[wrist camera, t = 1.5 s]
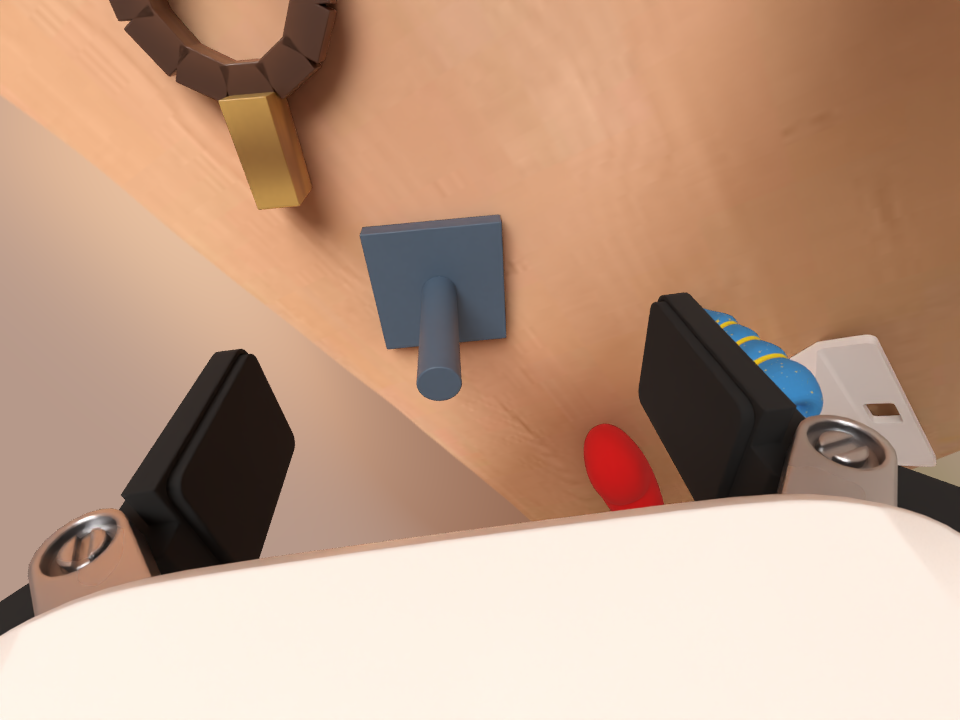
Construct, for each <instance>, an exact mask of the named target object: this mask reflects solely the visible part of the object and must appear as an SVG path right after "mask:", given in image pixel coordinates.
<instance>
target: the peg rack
mask: <svg viewBox="0 0 960 720" xmlns="http://www.w3.org/2000/svg"><path fill="white" fill-rule="evenodd" d="M360 239H361V243H362V247H363V252H364V256H365V260H366V264H367V268H368V272H369V277H370V281H371V285H372V289H373V293H374V297H375V301H376V306H377V310H378V314H379V318H380V322H381V326H382V331H383V335H384V339H385V343H386V347H387V349H396V348H406V347H417V346H419V353H418V369H417V388H418V390H419V392H420V393H421V394H422V395H423V396H424V397H426V398H428V399H431V400H435V401H443V400H448V399H450V398H452V397H454V396H455V395H456V394H457V393H458V392H459V391H460V389H461V385H462V379H461V362H460V345H459V342H469V341H479V340H489V339H500V338H506V317H505V293H504V268H503V244H502V222H501V219H500V215H490V216H479V217H468V218H457V219H447V220H436V221H425V222H414V223H404V224H393V225H382V226H371V227H363V228H362V230H361V233H360Z"/></svg>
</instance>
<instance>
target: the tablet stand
mask: <svg viewBox="0 0 960 720" xmlns="http://www.w3.org/2000/svg"><path fill="white" fill-rule="evenodd" d="M790 360H793V361H796V362H798V363H800V364H802V365H803V366H805V367H806V368H807V369H808V370H810V371H811V372H812V374H813V375H814V377H815V378H816V380H817V382H818V384H819V386H820V388H821V391H822V395H823V408H822V411H821V413H820V415H836V416H841V417H846V418H849V419H852V420H855V421H858V422H860V423H863V424H865V425H867V426H869V427H870V428H872V429H874V430H876V431H877V432H878V433H880V434H881V435H882V436H883V437H885V438H886V439H887V440H888V441H889V442H890V444H891V445H892V446H893V448H894V449H895V451H896V455H897V458H898V465H899V466H924V467H925V466H927V467H931V466H935V465H936V456H935V454H934V452H933V450H932V448H931V446H930V444H929V441H928V439H927V437H926V435H925V433H924V431H923V429H922V427H921V425H920V423H919V421H918V419H917V417H916V415H915V413H914V411H913V409H912V407H911V405H910V403H909V401H908V399H907V397H906V395H905V393H904V391H903V389H902V387H901V385H900V383H899V381H898V379H897V377H896V375H895V373H894V371H893V369H892V367H891V365H890V363H889V361H888V359H887V357H886V355H885V353H884V351H883V349H882V347H881V345H880V343H879V341H878V339H877V337H875V336H873V335H859V336H853V337H846V338H840V339H833V340H826V341H820V342H816V343H815V344H813V345H811V346H810V347H808V348H806V349H805V350H803V351H801V352H800V353H798V354H796V355H795V356H793V357H791V358H790ZM877 403H893V404H895V406H896V408H897V410H898V412H899V413H900V415H892V416H873V415H872V414H871V412H870V410H869V409H868V407H867V405H866V404H877Z"/></svg>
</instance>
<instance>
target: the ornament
mask: <svg viewBox="0 0 960 720" xmlns="http://www.w3.org/2000/svg"><path fill="white" fill-rule="evenodd" d="M704 310H705V311H706V312H707V313H708V314H709V315H710V316H711V317H712V318H713V319H714V320H715V321H716V322H717V324H718V325H719V326H720V327H721V328H722V329H723V330H724V331H725V332H726V333H727V334H728V335H729V336H730V337H731V338H732V339H733V340H734V341H735V342H736V343H737V344H738V345H739V346H740V348H741V349H742V350H743V351H744V352H745V353H746V354H747V355H748V356H749V357H750V358H751V359H752V360H753V361H754V362H755V363H756V364H757V365H758V366H759V367H760V368H761V369H762V370H763V372H764V373H765V374H766V375H767V376H768V377H769V378H770V379H771V380H772V381H773V382H774V383H775V384H776V385H777V386H778V387H779V388H780V389H781V390H782V391H783V392H784V393H785V394H786V396H787V397H788V398H789V399H790V400H791V401H792V402H793V403H794V404H795V405H796V406H797V407H796V409H797V410H798V411H799V412H800V413H801V414H802V415H803V416H804V417H805V418H808V417H811V416H816V415H820V413H821V411H822V408H823V395H822V391H821V388H820V386H819V384H818V382H817V380H816V378H815V377H814V375H813V374H812V372H811V371H810V370H808V369H807V368H806V367H805V366H803V365H802V364H800V363H798V362H796V361H793V360H790V359H788V358H787V356H786V354H785V352H784V351H783V350H782V349H781V348H779V347H778V346H776V345H774V344H771V343H769V342H765V341H762V340H761V339H760V337H759V336H758V335H757V334H756V333H755V332H754V331H753V330H751V329H749V328H747V327H744V326H742V325H739V324H738V323H737V321H736V320H735V318H733V317H732V316H731V315H728V314H725V313H721V312H716V311H711V310H707V309H704Z"/></svg>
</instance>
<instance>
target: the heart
mask: <svg viewBox="0 0 960 720" xmlns="http://www.w3.org/2000/svg"><path fill="white" fill-rule="evenodd" d="M584 460H585V467H586V471H587V474H588V477H589V479H590V482H591V484H592V486H593V487H594V489H595V490H596V491H597V492H598V494H599V495H600V496H601V497H602V498H603V500H604V501H605V503H606V504H607V506H608V507H609V509H610V510H611V511H619V510H626V509H634V508H642V507H650V506H658V505H664V502H663V498H662V495H661V492H660V489H659V486H658V483H657V481H656V478H655V476H654V473H653V471H652V469H651V467H650V465H649V463H648V461H647V459H646V458H645V456H644V454H643V453H642V451H641V450H640V449H639V447H638V446H637V445H636V444H635V442H634V441H633V440H632V439H631V438H630V437H629V436H628V435H627V434H626V433H625V432H623V431H622V430H621V429H619V428H618V427H616V426H613V425H610V424H600V425H597V426H595V427H594V428H592V429H591V430H590V431H589V433H588V435H587V437H586V439H585V443H584Z"/></svg>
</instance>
